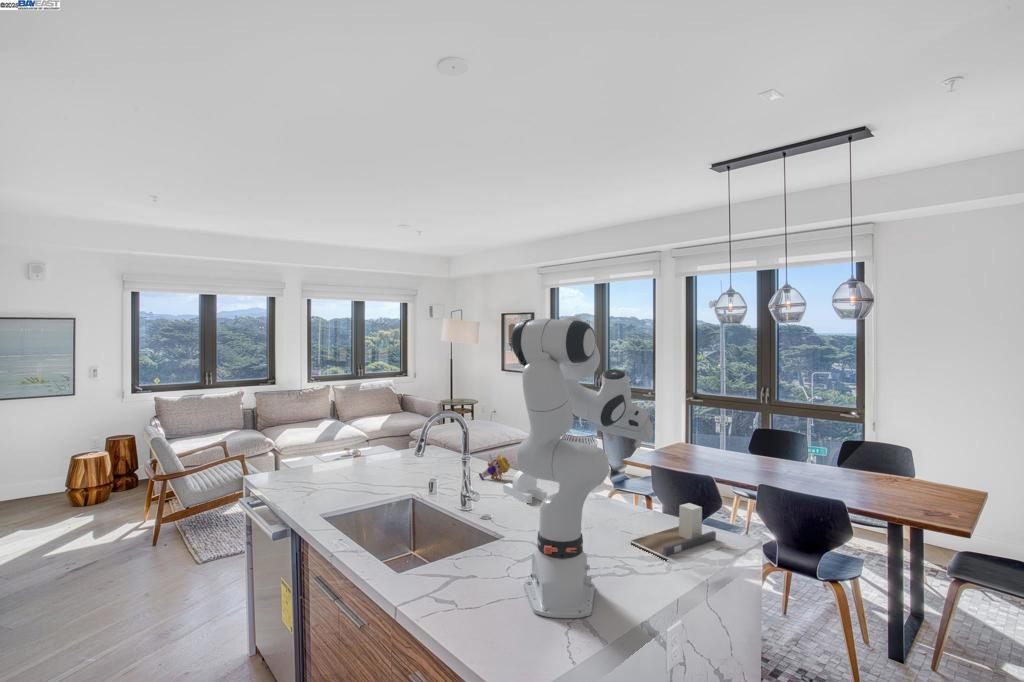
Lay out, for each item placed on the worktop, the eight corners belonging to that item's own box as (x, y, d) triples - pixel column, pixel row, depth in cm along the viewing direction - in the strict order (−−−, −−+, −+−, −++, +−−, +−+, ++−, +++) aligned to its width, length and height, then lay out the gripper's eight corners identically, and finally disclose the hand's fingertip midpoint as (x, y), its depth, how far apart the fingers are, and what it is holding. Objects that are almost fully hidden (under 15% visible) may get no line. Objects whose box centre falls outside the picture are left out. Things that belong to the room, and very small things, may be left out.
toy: (472, 463, 237) (500, 446, 237) (478, 465, 244) (504, 449, 243) (485, 489, 232) (513, 472, 231) (490, 490, 238) (517, 474, 237)
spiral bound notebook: (715, 544, 165) (715, 539, 165) (665, 561, 152) (665, 556, 152) (680, 530, 176) (680, 525, 176) (630, 544, 163) (631, 540, 163)
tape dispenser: (503, 492, 217) (503, 467, 217) (522, 489, 222) (522, 464, 222) (527, 505, 202) (527, 477, 201) (546, 500, 207) (547, 473, 207)
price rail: (716, 540, 164) (716, 532, 164) (666, 556, 151) (666, 548, 151) (713, 538, 165) (713, 531, 165) (663, 555, 152) (663, 546, 152)
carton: (691, 540, 163) (692, 509, 163) (678, 535, 168) (679, 505, 168) (701, 537, 166) (702, 507, 166) (689, 532, 171) (689, 502, 170)
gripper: (587, 411, 170) (593, 442, 177) (646, 424, 158) (650, 456, 165) (595, 400, 174) (600, 430, 181) (653, 412, 162) (656, 443, 169)
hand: (624, 443), depth 173 cm, fingers open, 8 cm apart
